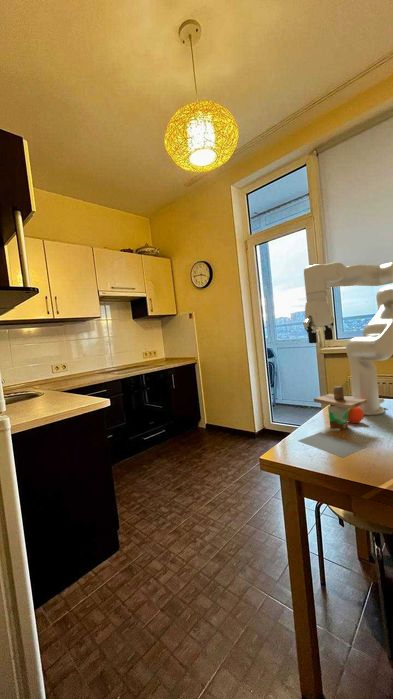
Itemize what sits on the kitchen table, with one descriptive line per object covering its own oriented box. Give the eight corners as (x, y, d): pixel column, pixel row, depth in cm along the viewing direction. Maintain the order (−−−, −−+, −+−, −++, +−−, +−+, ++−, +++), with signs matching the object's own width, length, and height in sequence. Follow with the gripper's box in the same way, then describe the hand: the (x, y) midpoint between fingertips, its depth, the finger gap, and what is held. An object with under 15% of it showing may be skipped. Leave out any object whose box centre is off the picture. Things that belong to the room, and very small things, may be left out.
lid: (329, 396, 114) (328, 382, 114) (367, 403, 101) (365, 387, 101) (314, 401, 110) (312, 386, 110) (350, 408, 97) (349, 392, 96)
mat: (320, 434, 103) (320, 432, 103) (366, 449, 88) (366, 446, 88) (297, 442, 98) (297, 440, 98) (343, 460, 83) (342, 457, 83)
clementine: (359, 427, 105) (357, 408, 105) (339, 424, 110) (337, 406, 110) (367, 421, 110) (365, 403, 110) (347, 418, 116) (346, 401, 115)
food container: (349, 436, 99) (347, 407, 99) (330, 434, 102) (327, 406, 102) (352, 424, 110) (350, 398, 109) (334, 422, 113) (332, 397, 112)
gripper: (322, 298, 120) (326, 339, 121) (293, 300, 111) (298, 344, 112) (339, 294, 113) (343, 338, 114) (310, 297, 105) (314, 344, 106)
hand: (321, 341), depth 113 cm, fingers open, 9 cm apart
